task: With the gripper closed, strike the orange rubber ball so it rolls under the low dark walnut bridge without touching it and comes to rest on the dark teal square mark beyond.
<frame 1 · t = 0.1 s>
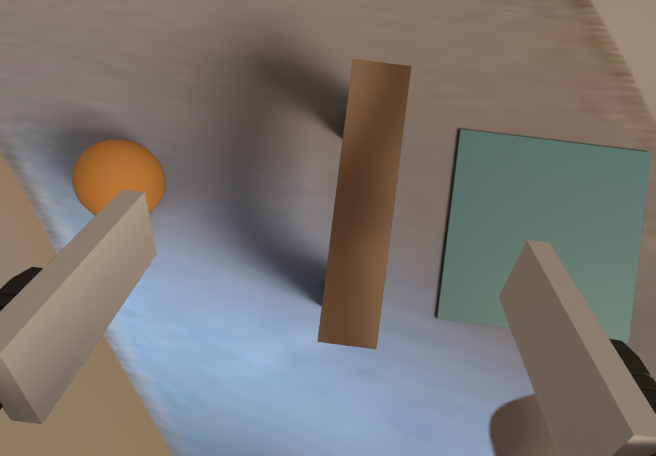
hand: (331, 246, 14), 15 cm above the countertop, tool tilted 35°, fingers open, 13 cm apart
bridge: (354, 212, 29), on the countertop
ball: (120, 181, 27), on the countertop
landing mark: (542, 235, 29), on the countertop
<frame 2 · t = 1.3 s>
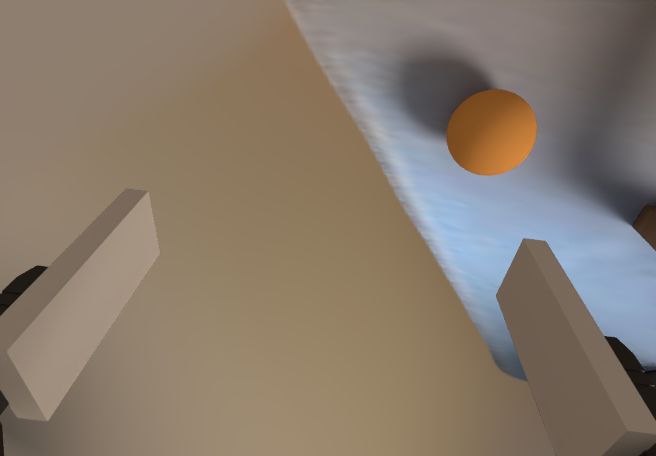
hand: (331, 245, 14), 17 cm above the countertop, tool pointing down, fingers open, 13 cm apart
ball: (489, 133, 26), on the countertop
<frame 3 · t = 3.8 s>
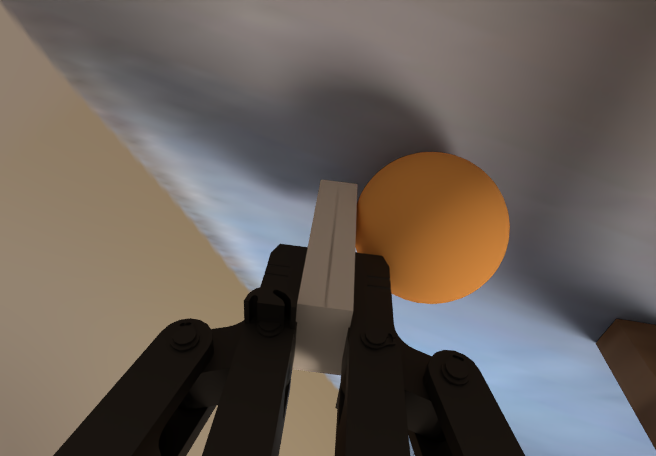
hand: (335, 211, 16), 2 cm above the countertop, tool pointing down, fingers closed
ball: (427, 227, 15), on the countertop, touching gripper
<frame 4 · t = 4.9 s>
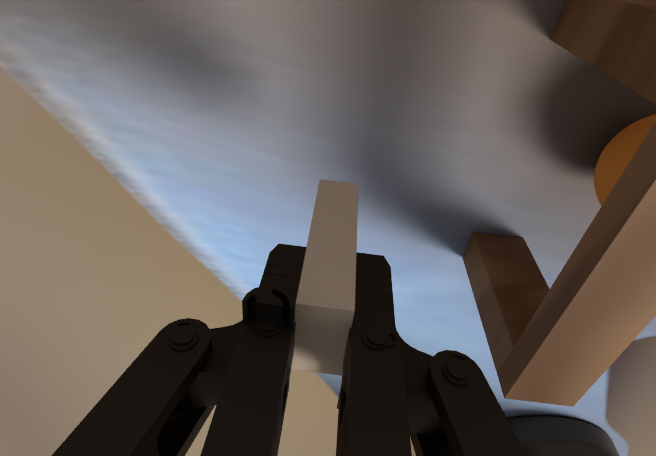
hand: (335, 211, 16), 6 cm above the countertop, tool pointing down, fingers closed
bridge: (535, 154, 20), on the countertop
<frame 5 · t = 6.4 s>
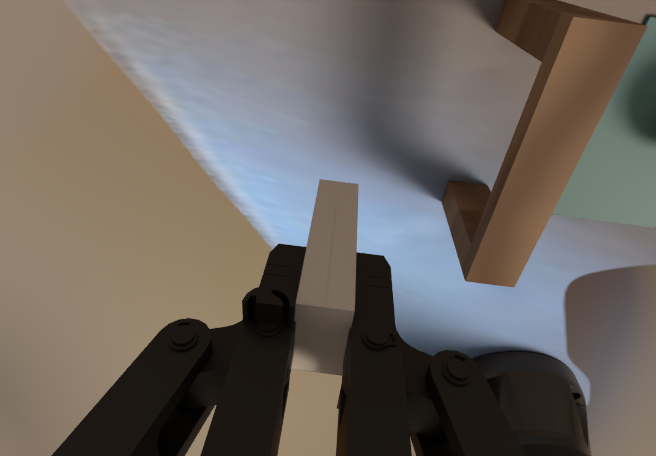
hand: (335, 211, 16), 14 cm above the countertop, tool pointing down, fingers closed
bridge: (490, 116, 28), on the countertop
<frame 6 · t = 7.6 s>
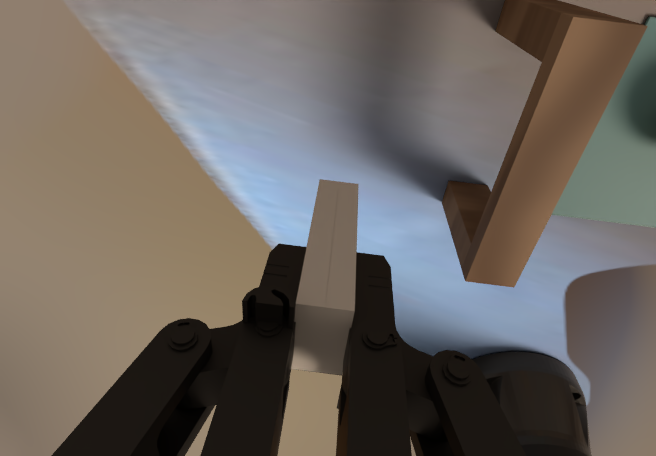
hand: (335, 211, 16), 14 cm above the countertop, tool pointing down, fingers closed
bridge: (490, 116, 28), on the countertop
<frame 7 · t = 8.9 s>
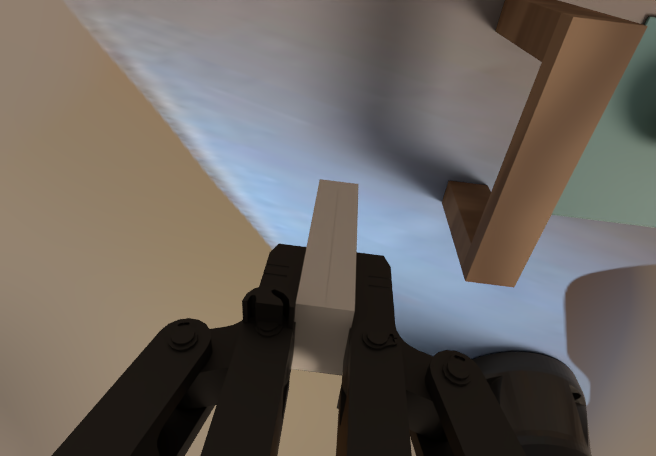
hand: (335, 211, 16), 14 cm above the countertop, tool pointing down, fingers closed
bridge: (490, 116, 28), on the countertop
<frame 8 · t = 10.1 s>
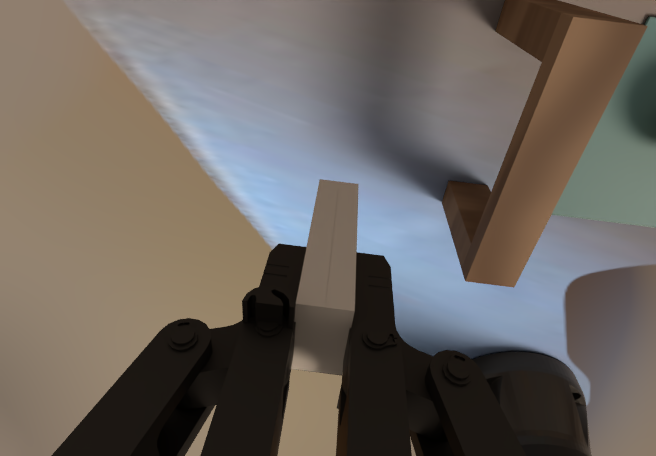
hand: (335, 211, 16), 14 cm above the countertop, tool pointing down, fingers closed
bridge: (490, 116, 28), on the countertop
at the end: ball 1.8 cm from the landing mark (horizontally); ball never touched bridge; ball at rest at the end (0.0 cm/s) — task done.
